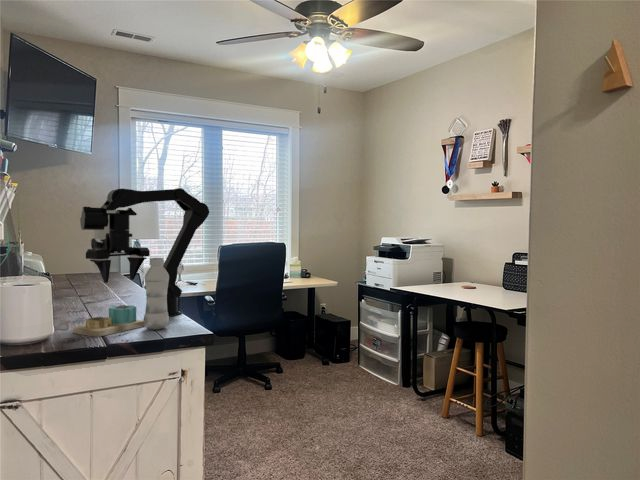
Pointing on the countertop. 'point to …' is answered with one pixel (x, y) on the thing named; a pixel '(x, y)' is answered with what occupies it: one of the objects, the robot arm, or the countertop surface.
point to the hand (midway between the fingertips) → (119, 281)
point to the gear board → (105, 326)
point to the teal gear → (122, 314)
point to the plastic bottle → (156, 295)
